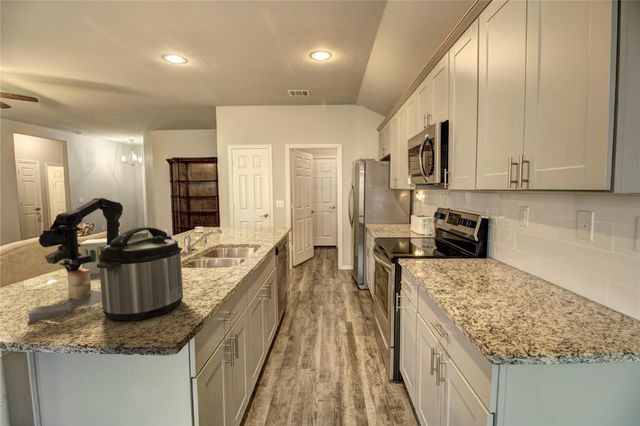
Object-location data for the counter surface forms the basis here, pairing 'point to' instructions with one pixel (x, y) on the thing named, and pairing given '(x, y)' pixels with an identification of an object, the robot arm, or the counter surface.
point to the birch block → (79, 283)
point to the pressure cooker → (140, 275)
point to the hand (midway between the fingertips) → (72, 278)
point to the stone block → (49, 311)
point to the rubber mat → (86, 299)
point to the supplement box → (92, 253)
